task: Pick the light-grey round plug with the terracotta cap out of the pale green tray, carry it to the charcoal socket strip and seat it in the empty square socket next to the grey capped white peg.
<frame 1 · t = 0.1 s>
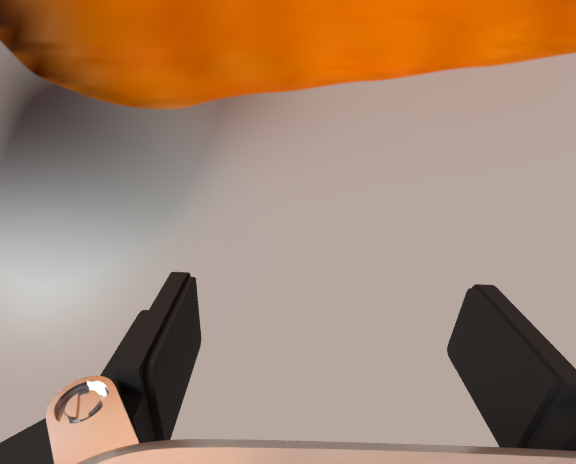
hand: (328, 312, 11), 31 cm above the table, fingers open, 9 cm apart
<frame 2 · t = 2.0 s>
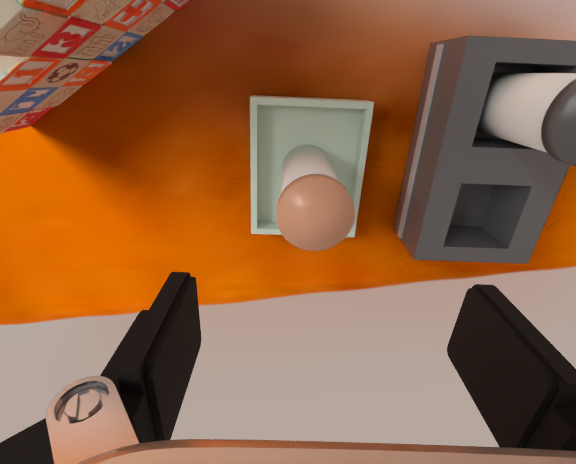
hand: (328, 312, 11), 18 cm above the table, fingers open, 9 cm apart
stack of blocks: (101, 8, 23), on the table
plug: (306, 168, 27), point 1 cm above the table, touching tray
socket strip: (463, 149, 27), on the table
tray: (305, 167, 28), on the table
grey capped white peg: (487, 103, 24), point 1 cm above the table, touching socket strip
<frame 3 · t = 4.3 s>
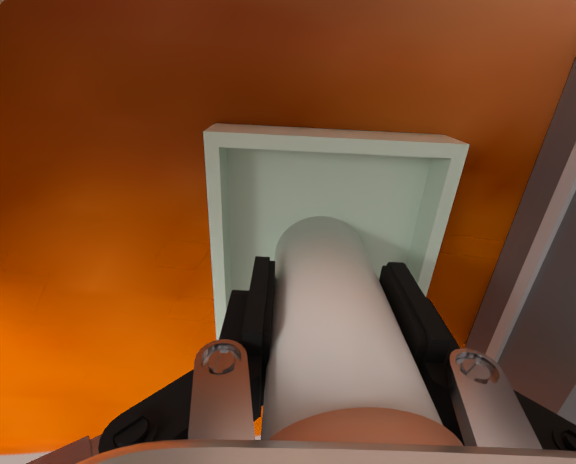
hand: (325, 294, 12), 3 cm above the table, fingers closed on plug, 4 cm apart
plug: (319, 257, 15), point 1 cm above the table, touching gripper, tray
tray: (318, 251, 15), on the table
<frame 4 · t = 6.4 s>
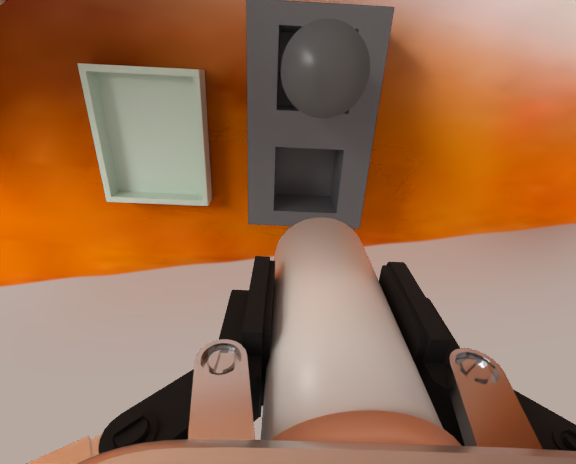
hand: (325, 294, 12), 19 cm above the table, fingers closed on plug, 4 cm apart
plug: (319, 258, 15), point 17 cm above the table, touching gripper
socket strip: (306, 120, 28), on the table
tray: (157, 137, 29), on the table
grey capped white peg: (311, 71, 25), point 1 cm above the table, touching socket strip
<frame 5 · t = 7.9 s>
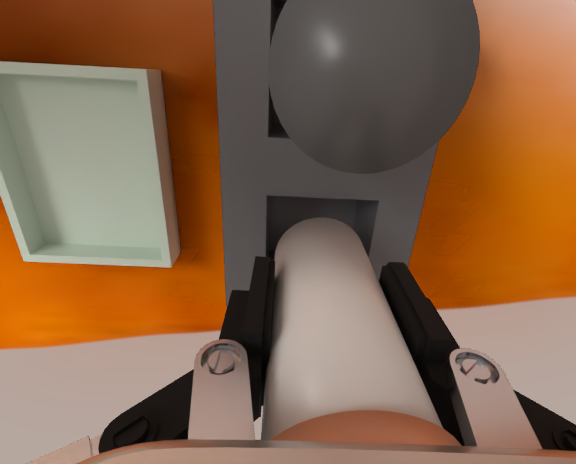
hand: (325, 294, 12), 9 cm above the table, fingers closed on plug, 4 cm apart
plug: (319, 258, 15), point 6 cm above the table, touching gripper
socket strip: (316, 144, 19), on the table
tray: (96, 168, 20), on the table
grey capped white peg: (325, 72, 16), point 1 cm above the table, touching socket strip
when the fingers open (7 cm above the table, at t = 8.7 s): plug drops 2 cm, resting on socket strip.
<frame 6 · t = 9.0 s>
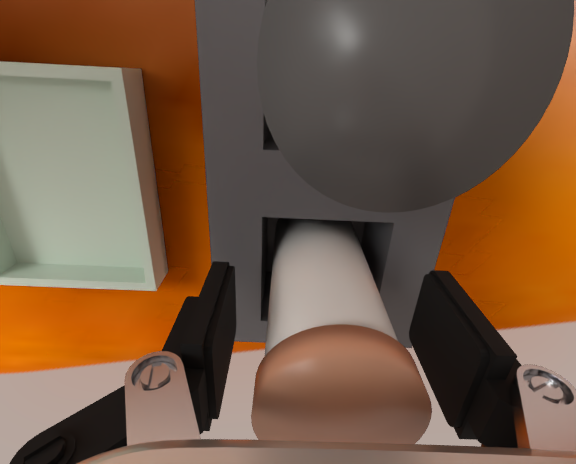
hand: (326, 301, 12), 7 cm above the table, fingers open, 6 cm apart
plug: (313, 233, 17), point 2 cm above the table, touching socket strip
socket strip: (319, 154, 17), on the table
tray: (71, 180, 17), on the table
grey capped white peg: (330, 72, 14), point 1 cm above the table, touching socket strip
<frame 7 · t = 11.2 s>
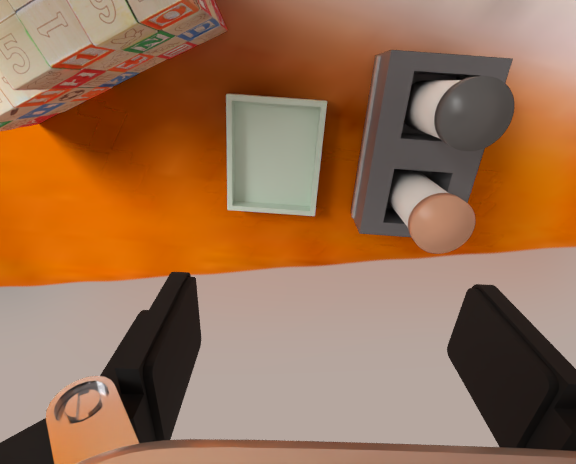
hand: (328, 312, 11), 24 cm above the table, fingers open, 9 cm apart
stack of blocks: (110, 46, 30), on the table
plug: (402, 186, 32), point 2 cm above the table, touching socket strip
socket strip: (407, 144, 32), on the table
tray: (275, 155, 33), on the table
grey capped white peg: (421, 105, 29), point 1 cm above the table, touching socket strip
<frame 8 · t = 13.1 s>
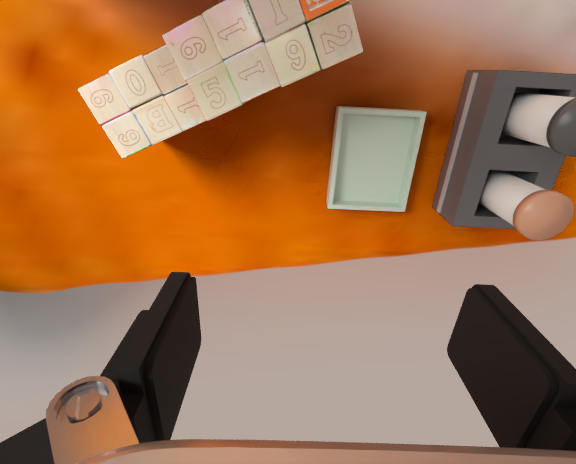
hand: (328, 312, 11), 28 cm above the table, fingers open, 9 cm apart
stack of blocks: (231, 71, 34), on the table
plug: (483, 183, 37), point 2 cm above the table, touching socket strip
socket strip: (487, 146, 37), on the table
tray: (370, 159, 37), on the table
grey capped white peg: (507, 113, 34), point 1 cm above the table, touching socket strip
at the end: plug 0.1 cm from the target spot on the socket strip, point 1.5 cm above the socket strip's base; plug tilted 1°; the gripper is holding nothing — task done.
